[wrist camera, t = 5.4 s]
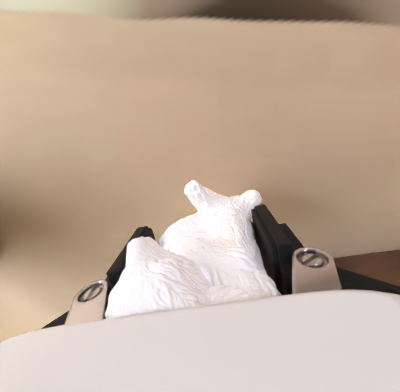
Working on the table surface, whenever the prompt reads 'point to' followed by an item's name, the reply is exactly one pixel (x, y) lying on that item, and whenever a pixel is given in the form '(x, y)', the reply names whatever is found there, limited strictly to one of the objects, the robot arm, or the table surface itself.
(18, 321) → the table surface
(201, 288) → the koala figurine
